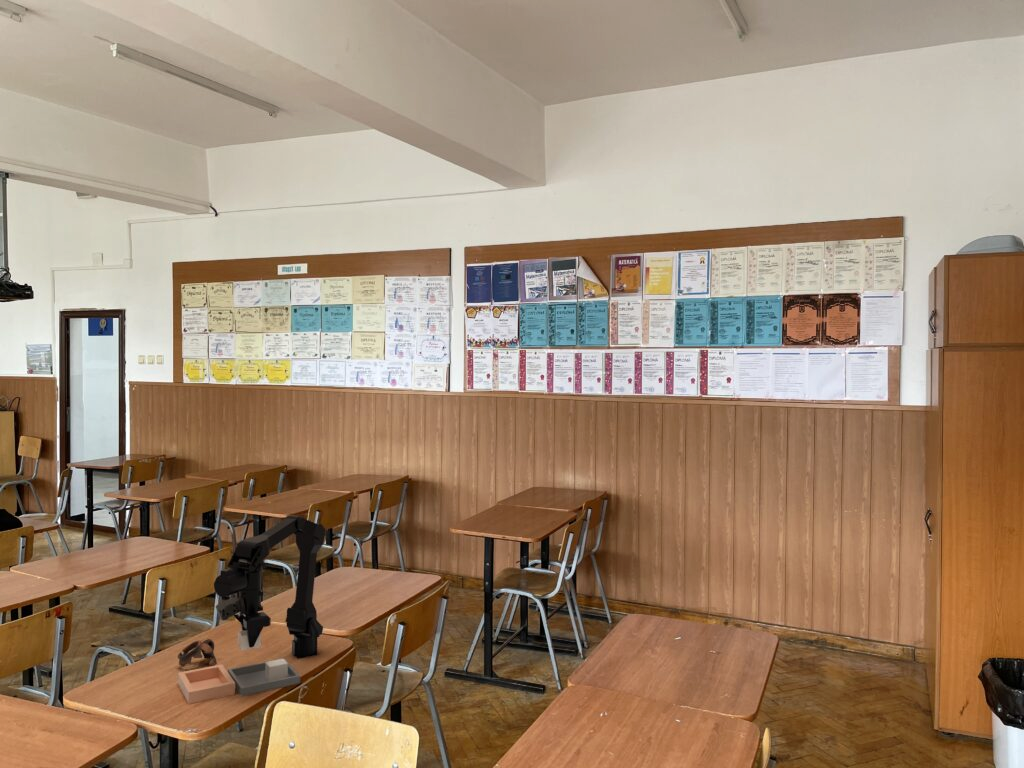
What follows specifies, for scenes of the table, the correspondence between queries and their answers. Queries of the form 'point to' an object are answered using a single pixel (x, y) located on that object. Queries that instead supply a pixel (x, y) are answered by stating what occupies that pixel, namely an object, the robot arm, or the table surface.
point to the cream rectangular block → (244, 643)
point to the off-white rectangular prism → (276, 669)
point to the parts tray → (259, 679)
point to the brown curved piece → (198, 652)
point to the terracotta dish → (206, 683)
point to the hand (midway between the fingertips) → (249, 644)
